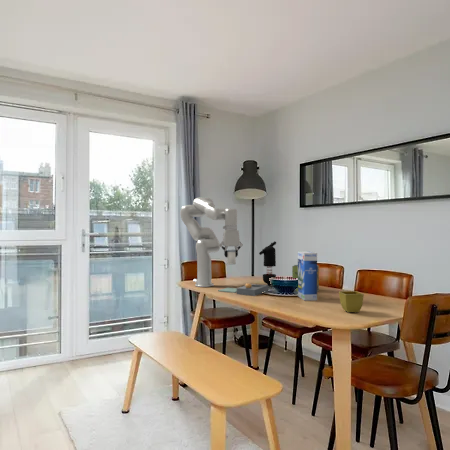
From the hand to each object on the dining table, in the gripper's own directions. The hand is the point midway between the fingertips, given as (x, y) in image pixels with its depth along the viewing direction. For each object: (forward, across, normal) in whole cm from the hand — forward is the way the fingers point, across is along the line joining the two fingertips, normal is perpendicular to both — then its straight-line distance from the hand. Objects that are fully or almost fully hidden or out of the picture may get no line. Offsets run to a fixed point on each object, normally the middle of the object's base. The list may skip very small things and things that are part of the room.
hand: (231, 256), depth 241 cm
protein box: (+21, +45, -12) cm, 51 cm away
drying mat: (+21, 0, 0) cm, 21 cm away
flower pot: (+21, +39, -72) cm, 85 cm away
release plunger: (+21, +7, -14) cm, 26 cm away
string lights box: (+21, +35, -36) cm, 54 cm away
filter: (+21, +28, +11) cm, 37 cm away
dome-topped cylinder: (+5, 0, 0) cm, 5 cm away
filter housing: (+21, +11, -10) cm, 26 cm away
